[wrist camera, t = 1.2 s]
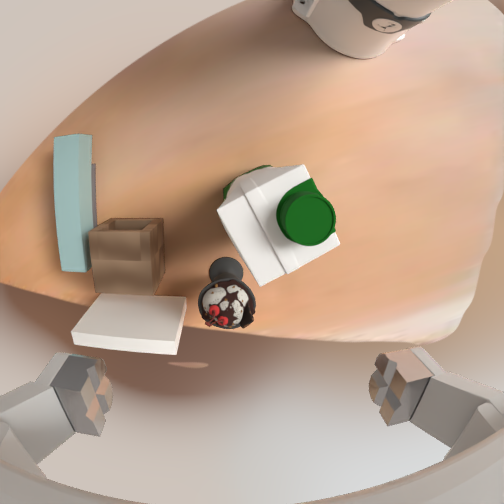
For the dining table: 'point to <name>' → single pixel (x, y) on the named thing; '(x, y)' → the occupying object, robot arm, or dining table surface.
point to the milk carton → (277, 220)
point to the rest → (93, 195)
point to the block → (127, 256)
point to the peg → (73, 200)
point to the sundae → (227, 296)
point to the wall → (132, 323)
